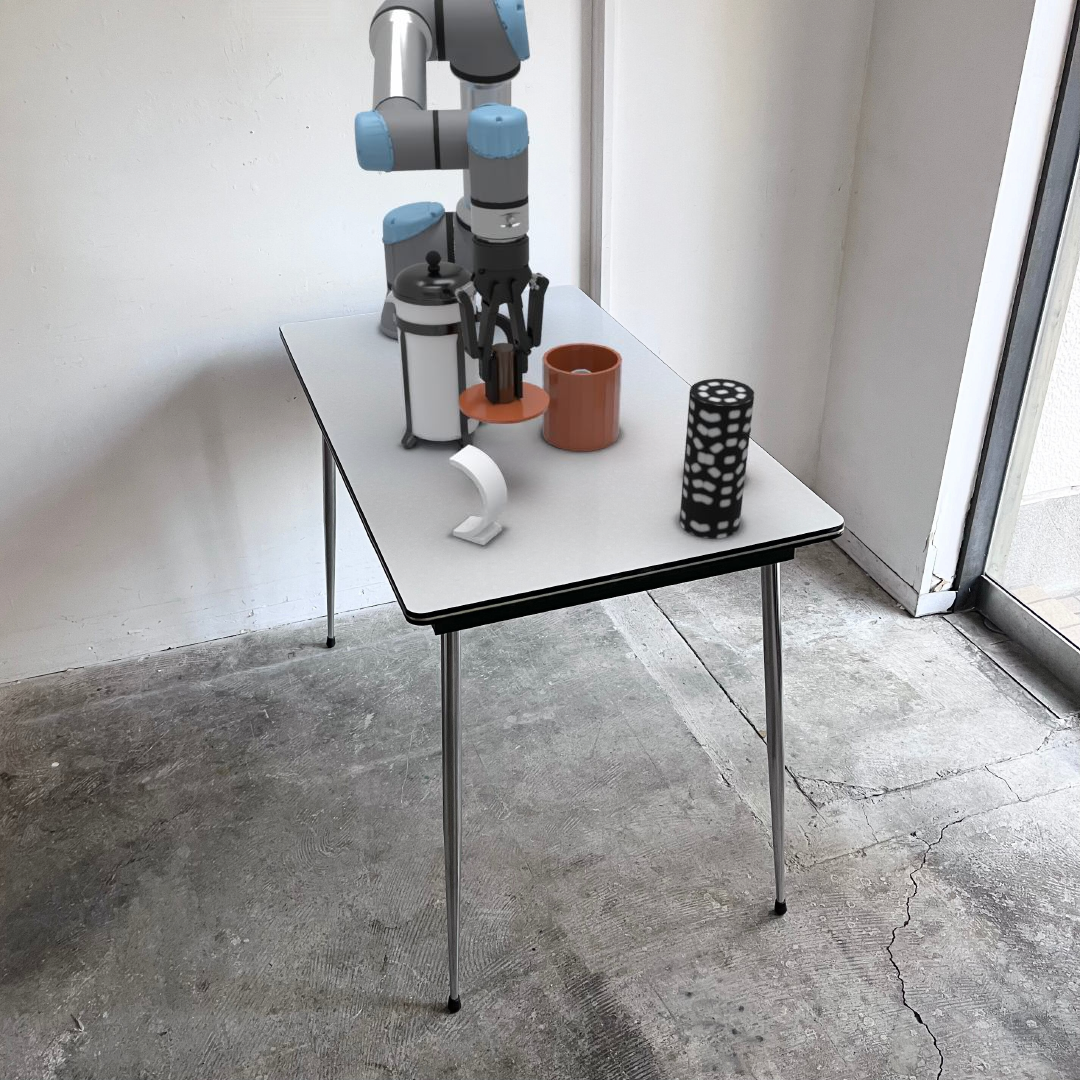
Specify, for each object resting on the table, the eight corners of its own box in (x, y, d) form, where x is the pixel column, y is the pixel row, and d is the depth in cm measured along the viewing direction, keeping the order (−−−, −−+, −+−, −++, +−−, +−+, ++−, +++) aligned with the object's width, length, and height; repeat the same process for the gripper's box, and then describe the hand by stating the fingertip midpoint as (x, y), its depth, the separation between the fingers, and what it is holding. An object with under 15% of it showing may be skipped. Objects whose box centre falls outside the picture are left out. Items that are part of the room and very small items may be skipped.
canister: (530, 425, 178) (529, 351, 171) (596, 411, 182) (598, 338, 175) (563, 457, 168) (564, 380, 161) (632, 441, 173) (636, 366, 166)
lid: (445, 397, 159) (442, 338, 153) (526, 381, 163) (526, 323, 158) (479, 435, 149) (477, 373, 144) (564, 416, 153) (565, 356, 148)
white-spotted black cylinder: (693, 542, 148) (705, 409, 137) (670, 512, 154) (680, 382, 144) (749, 533, 150) (765, 401, 139) (724, 503, 156) (737, 375, 146)
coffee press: (427, 468, 165) (415, 277, 149) (380, 428, 177) (364, 246, 160) (523, 439, 173) (521, 254, 157) (472, 403, 185) (465, 226, 168)
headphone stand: (471, 520, 153) (468, 444, 146) (508, 532, 150) (506, 455, 144) (453, 535, 150) (449, 458, 143) (490, 547, 147) (487, 469, 140)
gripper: (452, 251, 136) (460, 419, 149) (568, 234, 142) (566, 396, 155) (431, 234, 142) (441, 397, 155) (544, 218, 148) (544, 376, 161)
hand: (504, 396), depth 155 cm, fingers closed on lid, 3 cm apart
